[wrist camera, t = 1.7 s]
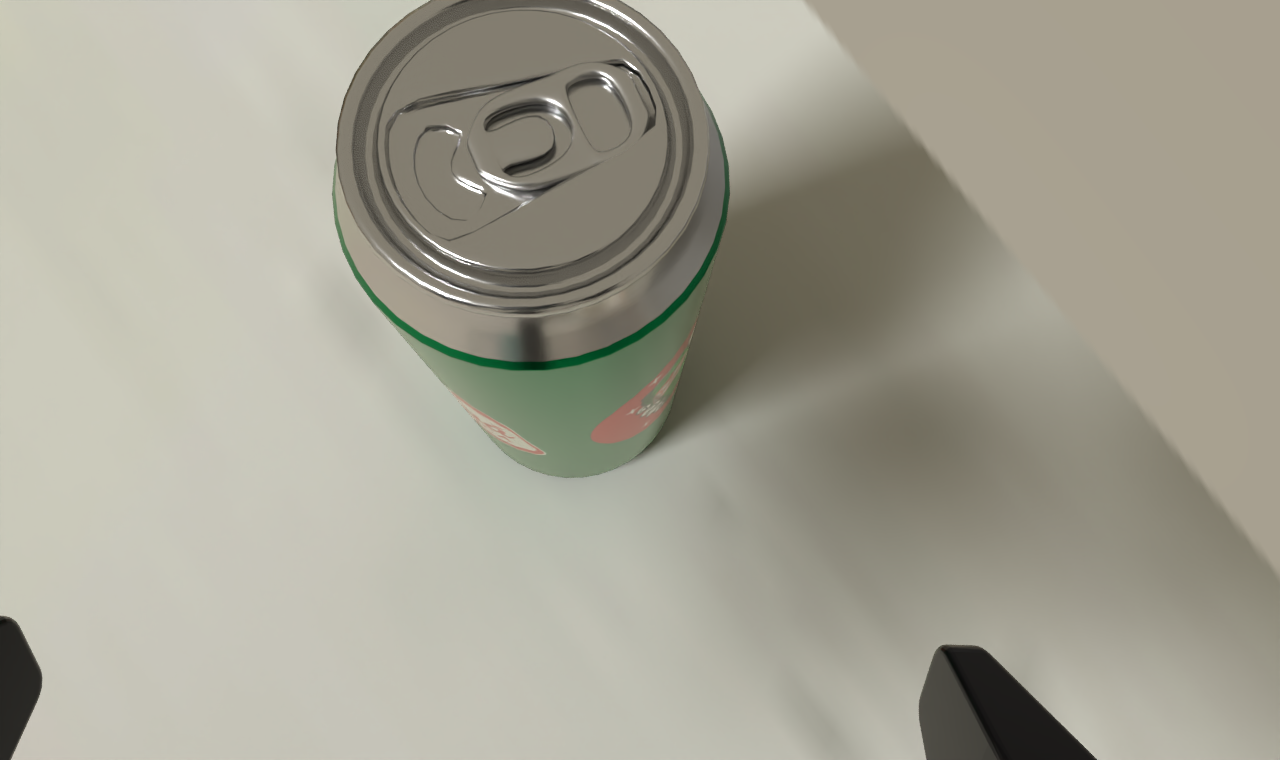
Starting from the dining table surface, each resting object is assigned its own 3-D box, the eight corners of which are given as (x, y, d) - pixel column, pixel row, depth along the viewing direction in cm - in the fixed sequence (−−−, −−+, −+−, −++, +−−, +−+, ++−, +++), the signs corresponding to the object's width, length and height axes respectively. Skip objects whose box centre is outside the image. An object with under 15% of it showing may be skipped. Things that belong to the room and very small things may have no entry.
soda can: (445, 330, 22) (242, 29, 10) (627, 258, 22) (637, -106, 10) (518, 513, 20) (387, 418, 9) (706, 433, 21) (817, 243, 9)
